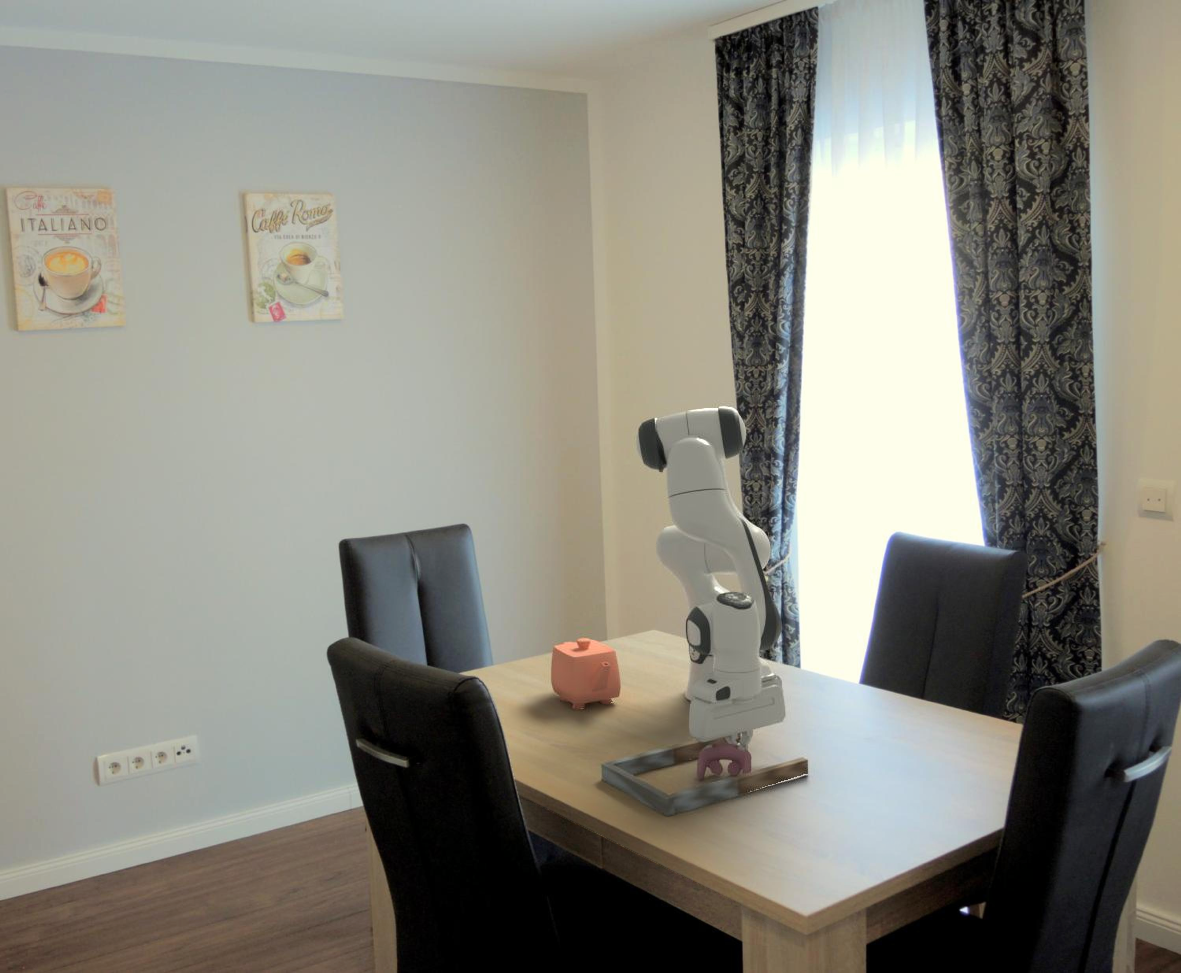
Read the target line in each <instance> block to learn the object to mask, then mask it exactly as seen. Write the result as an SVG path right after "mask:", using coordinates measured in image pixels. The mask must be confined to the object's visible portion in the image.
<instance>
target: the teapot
mask: <svg viewBox="0 0 1181 973" xmlns="http://www.w3.org/2000/svg"><path fill="white" fill-rule="evenodd" d="M620 675H621V674H620V669H619V663H618V657H617V652H616V651H615V650H614V649H613V648H612V647H610V646H609V645H606V644H604V643H602V642H600V641H599V640H596V639H591V638H587V637H586V638H583V637H582V638H578V639H576V641H574V642H573V641H567V642H566V641H564V642H562V643H561V644H556V645H553V647H552V656H551V666H550V678H551V679H550V681H551V682H550V683H551V686H552V691H553V692H554V693H555V694H556V695H558V696H559V697H560V698H559V701H560V700H562V701H561V702H569V703H571V704H572V707H571V708H572V709H573V708H575V709H574V710H582V709H581V708H583V709H585V708H586V704H588V703H595V702H599V703H600V704H601V703H602V705H610V703H611V702H613V703H614V701H613V700H612V699H615V698H619V697H620V693H621V676H620ZM611 704H612V703H611ZM584 707H585V708H584Z"/></svg>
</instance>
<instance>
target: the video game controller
mask: <svg viewBox="0 0 1181 973" xmlns="http://www.w3.org/2000/svg"><path fill="white" fill-rule="evenodd" d="M720 761H731V762H729V763H728V765H727V768H726V771H727V773H728V774H729V775H730V776H731V777H734V776H737V775H740V774H741V773H742V774H744V773H748V772H752V754H751V753H750V752H749V749H748V750H746V749H745V748H743V747H741V746H738V745H735V744H729V743H717V744H713V745H708V746H706V747H705V748H703V749H702V751H701V752H700V754H699V758H697V763H696V764H697V766H696V777H697V779H698V780H699V781H702V780H703V779H704V777H705V775H706V772H707V769H708V768H709V770H710V772H711V774H713V775H714V776H718V775H721V774H722V773H723V771H724V767H723V765H722V763H721V762H720ZM741 771H742V772H741Z"/></svg>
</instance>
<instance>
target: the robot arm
mask: <svg viewBox="0 0 1181 973" xmlns="http://www.w3.org/2000/svg"><path fill="white" fill-rule="evenodd" d="M746 429H747V428H746V425H745V422H744V420H743V418H742V417H741V415H740V414H739V411H738V410H737V409H735V408H734V407H730V406H718V408H716V407H715V408H699V409H690V410H689V409H688V410H686V411H681V412H678V413H673V414H669V415H665V416H662V417H659V418H657V417H653V418H650V419H648V420H645V421H642V422H641V424H640V426H639V427H638V431H637V436H636V450H637V452H638V455H639V457H640V459H641V460H642V462H643V463H642V464H644V465H645V466H646V467H647V468H649V469H651V470H657V471H658V472H659V473H663V472H664V470H665V469H666V486H667V488H666V489H667V496H668V505H669V512H670V515H671V518H672V521H673V525H669V526H665V527H664V528H663V529H662V530H661V531H660V533H659V535H658V537H657V540H656V544H655V545H656V546H655V552H656V557H657V558H658V561H659V562H660V564H661V565H662V566H663V568H664V569H666V570H667V571H668V572H670V573H671V574H672V576H674V577H675V578H676V580H677V581H678V583H679V584H680V586H681V588H682V589H683V592H684V594H685V598H686V600H687V605H688V612H689V614H688V615H687V617H686V620H685V636H686V642H687V644H688V655H689V658H690V661H689V672H688V680H687V686H686V690H685V693H684V696H685V699H687V700H689V701H690V704H689V714H688V727H689V728H688V730H689V734H690V736H691V737H692V738H693V740H698V741H701V742H707V741H711V740H715V739H719V738H722V737H725V738H726V740H727V742H728V743H729V744H735V745H738V746H741V747H743V748H745V749H746V750H748V751H749V744H750V742H751V740H752V738H753V736H754V731H753V730H756V729H757V730H758V729H760V728H764V727H768V726H769V727H770V726H772V725H776V724H780V723H783V722H784V720H785V718H786V715H787V714H786V703H785V697H784V687H783V681H782V679H781V677H780V676H779V675H778V674H775V673H772V670H771V666H770V665H769V663H768V662H767V661H766V660H764V659H763V658H762V657H760V651H769V650H770V649H771V648H772V647H773V646H774V645H775V643H777V641H778V639H779V637H780V636H781V634H782V630H783V624H782V623H783V622H782V619H781V615H780V612H779V609H778V607H777V606H776V603H775V601H774V598H773V597H772V595H771V592H770V589H769V585H768V582H767V579H766V576H765V573H764V571H763V570H764V568H765V567H766V566H767V565H768V562H769V560H770V558H771V553H772V552H771V551H772V550H771V543H770V542H771V541H770V539H769V537H768V535H767V534H766V532H765V531H764V530H763V529H762V528H760V527H759V526H757V525H755V524H754V523H752V522H750V521H749V520H748V519H747V517H745V516H744V515H743V513H741V511H740V510H739V509H738V508H737V506H736V504H735V502H734V501H733V499H732V498H733V497H732V495H731V492H730V487H729V484H728V478H727V474H726V466H725V462H724V458H725V459H731V458H734V457H736V456H738V455H740V453H741V452H742V451H743V449H744V448H745V447H744V446H745V442H746V439H747V430H746ZM715 574H718V575H736V576H737V578H738V582H739V585H740V588H741V592H738V591H730V590H728V589H726V588H725V587H723V586H721V585H720V584H719V582H718V581H717V580H716V578H715ZM738 733H741V739H740V742H739V743H737V742H736V740H735V739H738Z"/></svg>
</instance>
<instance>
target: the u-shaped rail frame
mask: <svg viewBox="0 0 1181 973" xmlns="http://www.w3.org/2000/svg"><path fill="white" fill-rule="evenodd" d="M741 736H742V734H741V733H738V739H735V740H736V742H737V743H739V742H740V739H741ZM717 743H728V742H727V740H726V738H725V737H722V738H719V739H715V740H711V741H707V742H701V741H698V740H696V739H693V740H689V741H685V742H682V743H678V744H677V743H676V744H673V745H669V746H665V747H661V748H658V749H654V750H649V751H646V752H641V753H637V754H635V755H634V754H633V755H630V756H626V757H623V758H618V759H613V760H610V761H605V762H603V763H601V765H600V766H601V780H603V781H604V782H606V783H608V784H609V785H610V786H613V787H614V788H616V789H618V790H620V791H621V792H623V793H625V794H626V795H628V796H630V797H632V798H634V799H636V800H637V801H639V802H641V803H642V804H644V805H647V806H648V807H650V808H652V809H653V810H654V811H656V812H658V813H660V814H662V815H664V816H666V817H671V816H674V815H677V814H682V813H685V812H688V811H690V810H691V811H692V810H694V809H699V808H702V807H706V806H708V805H712V804H716V803H719V802H723V801H726V800H729V799H733V798H735V797H734V796H736V797H739V796H738V795H740V796H742V795H741V794H743V795H746V794H745V793H747V794H749V793H748V792H750V791H754V790H756V789H760V788H762V787H765V786H768V785H772V784H776V783H778V782H781V781H784V780H788V779H791V778H794V777H797V776H801V775H803V774H808V775H809V759H807V758H806V757H799V758H794V759H792V760H788V761H785V762H781V763H777V764H774V765H771V766H766V767H763V768H759V769H756V770H751V772H748V773H744V774H741V773H740V774H738V775H737V776H730V777H728V778H727V777H726V778H724V779H723V778H722V779H720V780H716V781H713V782H709V783H706V784H701V785H699V786H695V787H694V786H693V787H691V788H687V789H684V790H681V791H676V792H674V793H669V794H668V793H667V792H665V791H663V790H661V789H659V788H658V787H656V786H654V785H653V784H651V783H649V782H646V781H645V780H642V779H640V778H639V777H637V776H635V775H637V774H641V773H645V771H646V772H649V771H652V770H656V769H661V768H664V767H668V766H672V765H677V764H679V763H683V762H686V761H687V762H688V761H691V760H693V759H698V758H699V754H700V752H701V751H702V749H703V748H705V747H706V746H708V745H713V744H717ZM690 759H691V760H690ZM760 790H761V789H760ZM754 792H755V791H754ZM750 793H751V792H750ZM732 797H733V798H732ZM728 798H729V799H728Z"/></svg>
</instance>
